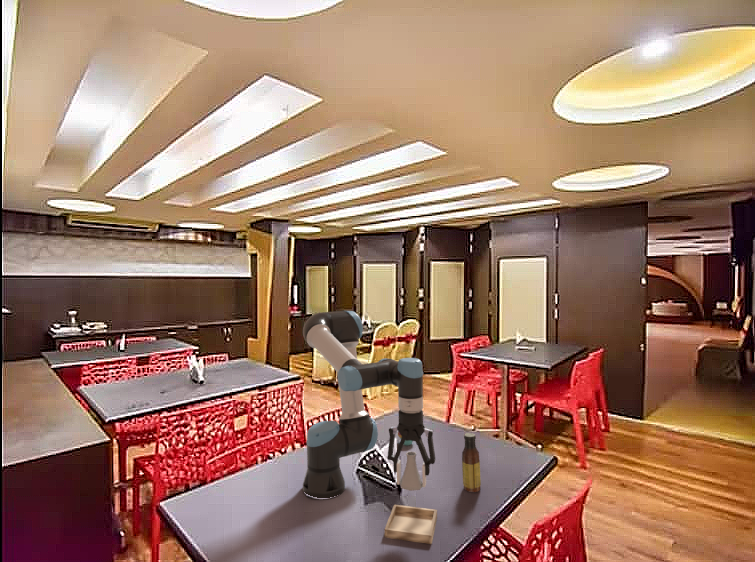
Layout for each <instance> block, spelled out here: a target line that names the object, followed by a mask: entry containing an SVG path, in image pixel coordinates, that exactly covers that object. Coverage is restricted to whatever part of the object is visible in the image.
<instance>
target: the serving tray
mask: <svg viewBox="0 0 755 562" xmlns="http://www.w3.org/2000/svg"><path fill="white" fill-rule="evenodd" d="M437 521H438V509H432V508H425V507H418V506H409V505H401V504H394V505H393V506H392V509H391V511H390V515H389V517H388V519H387V522H386V523H385V526H384V527H385V528H384V529H383V530H384V538H386V539H391V540H398V541H399V540H400V541H405V542H412V543H420V544H428V545H433V540H434V537H435V536H434V535H435V531H436V525H437Z"/></svg>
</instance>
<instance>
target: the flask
mask: <svg viewBox="0 0 755 562" xmlns="http://www.w3.org/2000/svg"><path fill="white" fill-rule="evenodd" d="M405 455H406V463H405V468H404V471H403V475H401V482H400V484H399V485H400V489H402V490H406V491H410V492H411V491H420V490H421V489H422V488H424V487H423V479H422V478H421V475H420V472H419V469H418V466H417V461H416V457H417V452H416V451H407V452H406V453H405Z"/></svg>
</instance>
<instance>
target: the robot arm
mask: <svg viewBox="0 0 755 562" xmlns="http://www.w3.org/2000/svg"><path fill="white" fill-rule="evenodd" d="M363 331H364V327H363V322H362V319H361V317H360V316H359V315H358V314H357V313H356V312H355V311H354V310H353V311H352V310H338V311H326V312H325V311H324V312H321V311H320V312H317V313H314V314H313V315H311V316H309V318H307V320H306V321H305V322H304V324H303V328H302V335H303V338H304V341H305V342H306V344H308V346H309V347H311V348H312V349H315V350H317V352H319V353H320V355H321V356H322V357H323V358H324V359H325V360H326V361H327V363H328V364H329V365H330V366H331V367H332V368H333V369H334V371H335V372H336V375H337V382H338V383H337V384H338V390H339V398H340V406H341V415H340V416H339V417H338V421H339V422H338V421H336V420H328V421H327V420H323V421H319V422H316V423H314V424H313V425H311V426H310V427H309V429H308V430H307V433H306V442H305V443H306V459H307V460H306V461H307V470H306V472H305V476H304V479H303V482H302V492H303V491H304V492H305V493H306V494H308V495H310V496H313V497H317V498H330V497H334V496H336V497H338V496H340V495H341V494H343V493H344V491H345V489H346V488H345V487H346V486H345V485H346V481H345V478H344V475H343V473H342V470H341V467H340V464H341V463H340V461H341V458H345V457H348V456H353V455H357V454H359V453H365V452H367V451H371V450H372V449H373V448H375V446H376V444H377V441H378V435H379V432H378V431H379V430H378V426H377V423H376V420H375V419H374V418H373V417H371V416H370V413H369V412H368V411H367V410H366V409H365V403H364V398H363V390H366V389H371V388H375V387H376V388H377V387H382V386H389V385H392V386H394V387H397V393H398V394H397V395H398V397H397V398H398V402H397V403H398V404H397V405H398V424H397V426H394V425H391V426H389V428H388V434H389V441H388V448H387V449H388V450H387V457H386V458H387V460H389V461H392V462H393V463H392V464H393V466H392V467H393V468H392V469H393V472H394V473H396V484H397V485H400V482H401V479H402V461H401V459H399V458H400V455H401V452H402V450H403V447H404V446H405V445H404V442H405V440H406V441H409V440H411V441H413V442H415V443H416V445H417V448H418V450H419V453H420V455H421V458H422V461H423V463H422V467H421V468H422V478H421V480H422V483H423V487H422V488H426V485H427V476H429V475H430V472H431V471H430V469H431V467H430V466H431V465H434V464H435V463H436V452H435V445H434V439H433V436H434V429H433V428H429V429H428V428H425V425H424V410H423V409H424V392H423V391H424V378H423V377H424V371H423V362H422V361H421V359H419V358H416V357H403V358H400V359H398V361H397V360H396V359H393V358H381V359H380V360H379V361H377V362H370V363H362V362H361V361H360V360H359V359H358V356H357V355H358V354H357V347H358V345H359V343H360V341H359V340H360V339H361V338H362V336H363V335H364V333H363ZM397 431H399V433H400V434H401V436H402V438H401V439H400V441H399V443H398V446H397V448H396V452H395V454H394V450H395V449H394V448H395V439H396V434H397V433H398V432H397ZM423 434H425V437H426V438H427V444H428V445H427V446H428V451H429V455H428V452H427V449H426V447H425V444H424V442H423V438H422V436H423ZM339 494H340V495H339ZM337 495H338V496H337ZM334 498H335V497H334ZM330 499H331V498H330Z"/></svg>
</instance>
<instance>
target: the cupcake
mask: <svg viewBox="0 0 755 562" xmlns="http://www.w3.org/2000/svg"><path fill="white" fill-rule="evenodd" d="M397 431H398V430H397ZM397 436H398V437H399V439H400V440H401V438H402V436H401V434H400V433H399V431H398V432H397ZM413 442H414V441H411V440H409V441H406V440H405V442H404V445H403V446H411V445H412V444H413Z"/></svg>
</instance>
